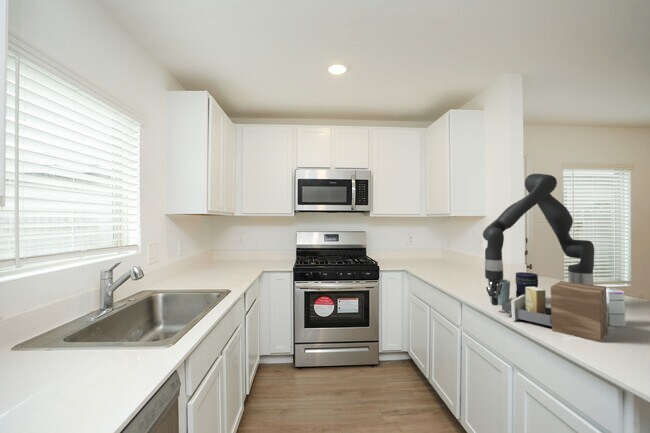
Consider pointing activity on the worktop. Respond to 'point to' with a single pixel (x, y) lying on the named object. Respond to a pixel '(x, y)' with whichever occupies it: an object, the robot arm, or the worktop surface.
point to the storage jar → (525, 282)
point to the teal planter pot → (503, 292)
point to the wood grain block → (579, 310)
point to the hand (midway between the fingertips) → (494, 304)
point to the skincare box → (535, 300)
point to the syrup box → (615, 307)
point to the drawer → (519, 311)
